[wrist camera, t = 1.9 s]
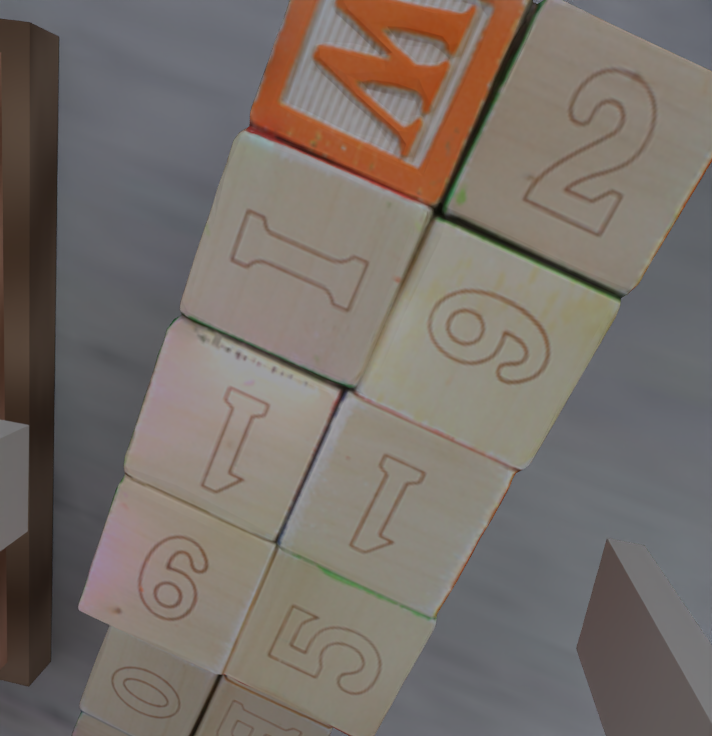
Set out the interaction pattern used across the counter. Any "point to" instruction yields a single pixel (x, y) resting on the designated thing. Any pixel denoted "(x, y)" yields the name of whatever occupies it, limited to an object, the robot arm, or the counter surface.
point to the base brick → (28, 329)
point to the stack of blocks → (375, 349)
